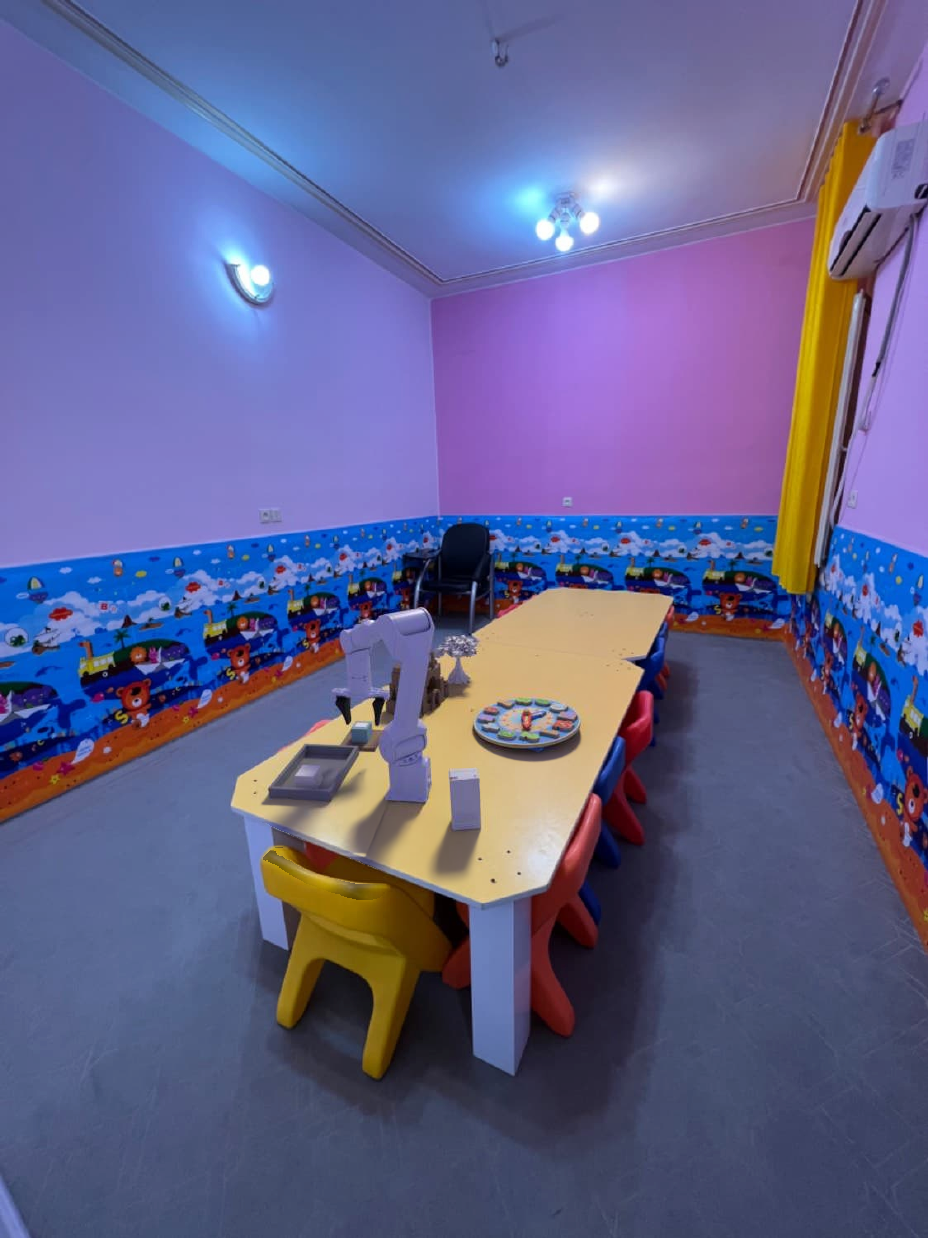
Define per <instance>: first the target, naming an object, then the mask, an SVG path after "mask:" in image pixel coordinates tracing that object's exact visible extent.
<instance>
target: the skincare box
mask: <svg viewBox="0 0 928 1238" xmlns="http://www.w3.org/2000/svg"><path fill="white" fill-rule="evenodd" d="M448 779H449V780H448V781H449V795H450V796H449V797H450V811H451V812H450V813H451V816H450V817H451V825H452V827H451V828H452V831H464V830H475V829H481V828H482V818H481V817H482V816H481V815H482V814H481V813H482V812H481V789H480V784H481V783H480V776H479V772H478V768H477V767H471V768H470V767H469V768H455V769H454V768H453V769H449V770H448Z"/></svg>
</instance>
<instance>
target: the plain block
mask: <svg viewBox="0 0 928 1238" xmlns="http://www.w3.org/2000/svg"><path fill="white" fill-rule="evenodd" d="M322 781H323V778H322V769H321V766H317V765H303V766H302V767H301V768H300V769H299V771H298V772H297V773H296V775H295V782H296V788H315V789H317V788H318V787H319V785H320V784H321V782H322Z"/></svg>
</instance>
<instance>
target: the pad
mask: <svg viewBox="0 0 928 1238" xmlns="http://www.w3.org/2000/svg"><path fill="white" fill-rule="evenodd" d="M372 732H373V735H372V737H371V738H370V740H369V742H368V743H362V742H352V738H351V729H350V730H349V732H348V733H347V734H346V736H345V737H344V739H343V740H342V741H341V743H340V744H339V745H347V746H358V747H359V751H372V752H375V751H377V749H378V748H379V746H378V743H379V739H380V737H381V736H382V733H383V729H372Z"/></svg>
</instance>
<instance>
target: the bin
mask: <svg viewBox="0 0 928 1238" xmlns="http://www.w3.org/2000/svg"><path fill="white" fill-rule="evenodd" d="M359 756H360V750H359V747H358V746H347V745H340V744H323V743H322V744H320V743H317V744H316V743H304V744H303V745H302V746H301V748H300V749H298V752H297V753H296V754H295V755H294V756H293V758H292V759H290V761H289V762H288V764H287V765H286V766H285V767H284V768H283V770H282V771H281V772H280V773H279V774H278V776H277V777H276V778H275V779H274V780H273V781H272V783H270V786H268V788H267V791H268V797H269V798H270V799H280V800H281V799H283V800H299V801H301V800H302V801H313V802H314V801H317V802H318V801H319V802H333V800H334V798H335V796H336V794H337V793H338V791H339V789H340V788H341V786H342V784H343V782H344V781H345V779H346V778H347V776H348V774H349V773H350V770H351V769H352V767H354V764H355V762H356V761H357V759H358V757H359ZM303 765H317V766H321V769H322V778H323V781H322V782H321V784H320V785H319V787H318V788H317V789H315V788H296V782H295V775H296V773H297V772H298V771H299V769H300V768H301V767H302V766H303Z"/></svg>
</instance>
